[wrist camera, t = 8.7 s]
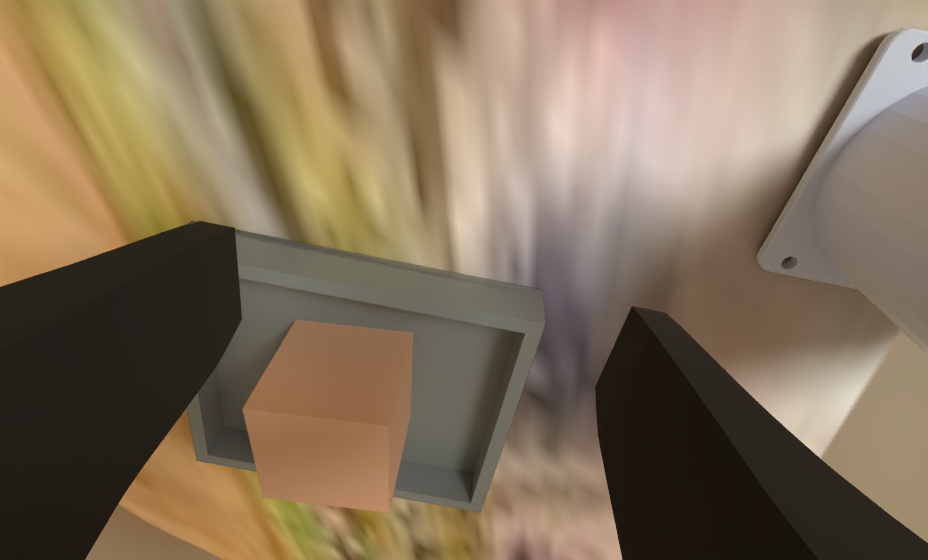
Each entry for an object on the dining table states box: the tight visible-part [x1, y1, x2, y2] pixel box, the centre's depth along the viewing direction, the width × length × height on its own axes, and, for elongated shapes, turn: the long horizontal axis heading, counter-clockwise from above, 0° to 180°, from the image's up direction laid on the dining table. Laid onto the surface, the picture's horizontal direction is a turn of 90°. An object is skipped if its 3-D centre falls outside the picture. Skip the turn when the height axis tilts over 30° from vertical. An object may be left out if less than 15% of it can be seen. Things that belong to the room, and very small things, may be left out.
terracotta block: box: [243, 320, 413, 513], centre depth 20 cm, size 5×5×5 cm
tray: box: [187, 221, 546, 513], centre depth 22 cm, size 14×12×2 cm
